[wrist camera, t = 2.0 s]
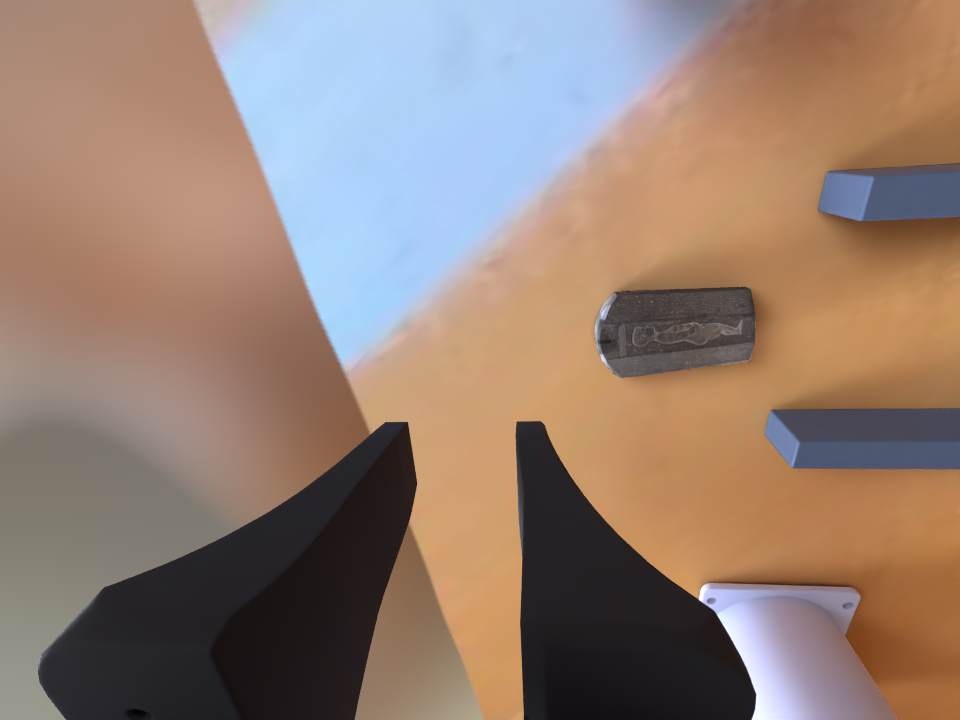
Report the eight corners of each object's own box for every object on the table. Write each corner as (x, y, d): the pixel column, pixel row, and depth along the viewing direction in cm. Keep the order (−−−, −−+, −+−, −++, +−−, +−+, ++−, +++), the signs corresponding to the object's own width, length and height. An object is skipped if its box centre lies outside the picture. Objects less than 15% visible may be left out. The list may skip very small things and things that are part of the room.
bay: (1013, 434, 20) (1073, 470, 18) (763, 434, 21) (791, 469, 19) (1158, 151, 16) (1264, 153, 13) (825, 170, 17) (872, 175, 14)
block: (739, 350, 20) (758, 369, 18) (597, 370, 21) (603, 390, 19) (741, 269, 18) (763, 281, 17) (588, 294, 19) (594, 308, 18)
